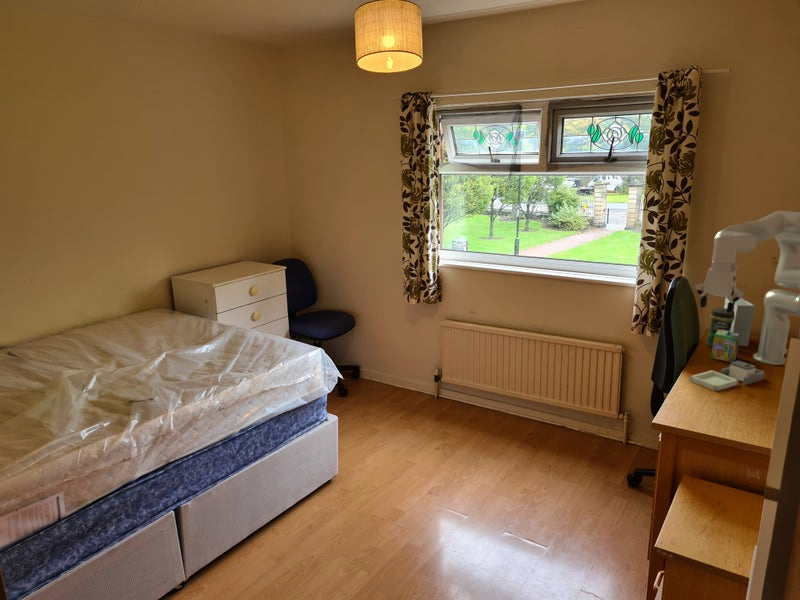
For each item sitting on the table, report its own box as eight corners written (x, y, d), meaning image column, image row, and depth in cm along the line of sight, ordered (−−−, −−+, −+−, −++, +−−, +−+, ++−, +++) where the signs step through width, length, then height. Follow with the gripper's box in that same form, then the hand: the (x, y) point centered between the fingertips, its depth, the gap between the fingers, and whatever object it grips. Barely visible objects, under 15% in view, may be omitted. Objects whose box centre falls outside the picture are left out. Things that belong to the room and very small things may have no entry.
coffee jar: (704, 346, 256) (710, 308, 251) (707, 341, 262) (713, 304, 257) (728, 350, 250) (734, 311, 246) (730, 345, 256) (736, 308, 252)
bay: (739, 370, 228) (741, 363, 227) (764, 379, 219) (766, 372, 218) (720, 376, 222) (721, 369, 222) (744, 385, 213) (745, 378, 213)
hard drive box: (748, 347, 254) (755, 306, 249) (730, 346, 256) (737, 305, 251) (736, 336, 269) (742, 297, 264) (719, 335, 271) (724, 296, 265)
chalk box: (713, 352, 248) (718, 321, 244) (737, 357, 242) (742, 325, 238) (709, 358, 241) (714, 327, 237) (733, 363, 235) (738, 330, 232)
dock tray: (711, 374, 224) (711, 370, 223) (737, 384, 214) (738, 380, 213) (689, 380, 218) (690, 376, 218) (715, 391, 208) (716, 386, 208)
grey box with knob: (736, 374, 224) (738, 359, 223) (753, 380, 218) (755, 364, 216) (728, 376, 222) (730, 361, 220) (745, 382, 216) (747, 367, 214)
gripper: (751, 268, 203) (744, 312, 207) (703, 261, 216) (697, 303, 221) (742, 271, 199) (735, 316, 203) (694, 264, 212) (688, 306, 216)
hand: (716, 309), depth 212 cm, fingers open, 9 cm apart
